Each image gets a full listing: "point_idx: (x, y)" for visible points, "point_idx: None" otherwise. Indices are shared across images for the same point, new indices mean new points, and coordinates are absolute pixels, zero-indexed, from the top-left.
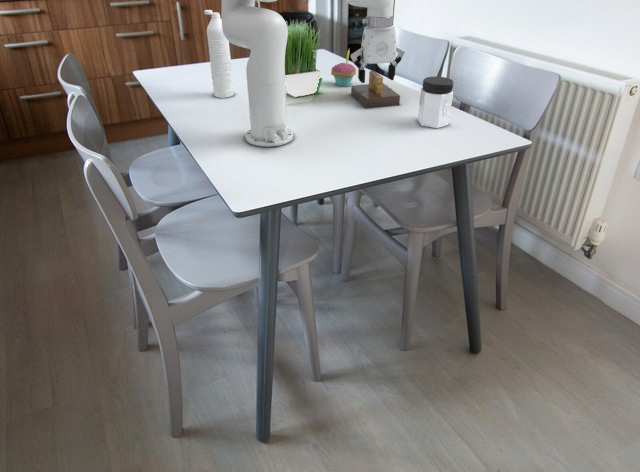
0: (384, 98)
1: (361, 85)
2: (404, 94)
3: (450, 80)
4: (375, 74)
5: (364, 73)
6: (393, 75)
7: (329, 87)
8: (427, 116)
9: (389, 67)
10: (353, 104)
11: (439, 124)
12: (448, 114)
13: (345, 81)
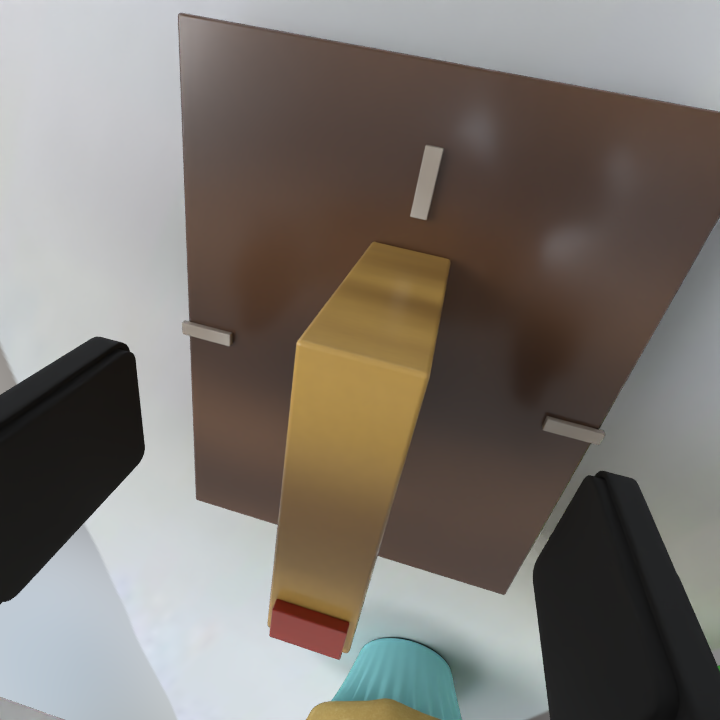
0: (439, 62)
1: (413, 552)
2: (85, 312)
3: None
4: (346, 532)
5: (666, 628)
6: (52, 370)
7: (525, 681)
8: None
9: (14, 557)
10: (701, 326)
11: None
12: None
13: (417, 676)
